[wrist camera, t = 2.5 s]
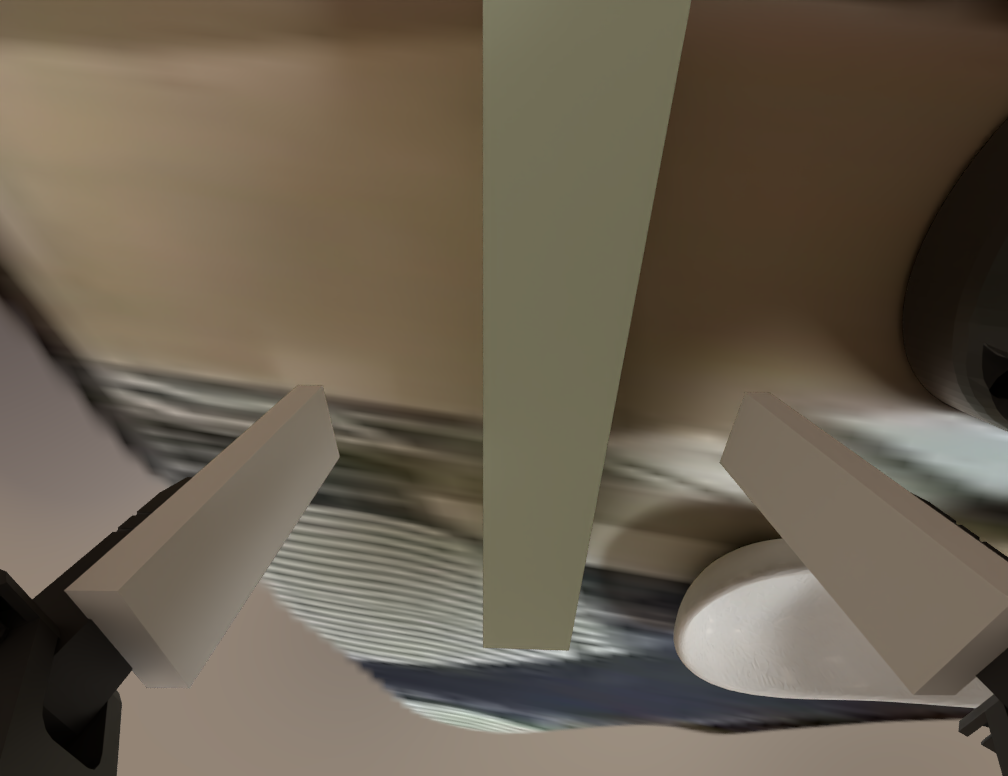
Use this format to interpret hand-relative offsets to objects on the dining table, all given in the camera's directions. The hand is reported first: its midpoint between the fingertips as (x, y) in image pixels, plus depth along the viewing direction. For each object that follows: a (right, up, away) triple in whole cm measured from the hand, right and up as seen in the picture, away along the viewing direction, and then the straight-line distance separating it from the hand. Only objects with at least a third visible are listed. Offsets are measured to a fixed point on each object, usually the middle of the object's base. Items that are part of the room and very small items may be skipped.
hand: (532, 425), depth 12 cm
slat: (0, +2, +4) cm, 5 cm away
